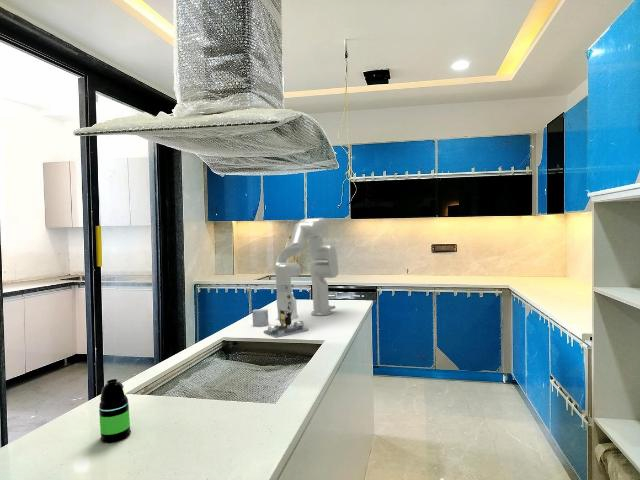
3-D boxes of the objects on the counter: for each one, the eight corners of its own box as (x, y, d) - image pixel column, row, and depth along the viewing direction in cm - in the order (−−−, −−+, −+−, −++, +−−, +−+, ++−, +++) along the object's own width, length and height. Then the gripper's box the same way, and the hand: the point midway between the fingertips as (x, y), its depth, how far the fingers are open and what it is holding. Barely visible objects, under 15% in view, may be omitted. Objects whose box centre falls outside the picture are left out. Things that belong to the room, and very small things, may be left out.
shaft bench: (295, 326, 225) (295, 318, 225) (308, 330, 214) (308, 322, 214) (263, 332, 214) (263, 324, 214) (275, 337, 204) (275, 328, 203)
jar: (289, 320, 240) (288, 294, 239) (275, 319, 244) (274, 294, 243) (299, 316, 250) (298, 291, 250) (285, 315, 254) (284, 291, 254)
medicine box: (268, 324, 233) (267, 309, 233) (266, 326, 229) (266, 310, 229) (254, 324, 234) (254, 309, 234) (252, 326, 230) (252, 311, 229)
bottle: (99, 446, 106) (95, 388, 105) (101, 434, 112) (98, 379, 112) (130, 439, 109) (127, 382, 108) (131, 427, 115) (127, 374, 115)
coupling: (287, 323, 217) (286, 312, 217) (292, 325, 213) (291, 313, 213) (279, 325, 215) (278, 313, 214) (283, 326, 211) (283, 314, 210)
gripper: (298, 289, 209) (300, 325, 209) (282, 286, 223) (283, 319, 223) (285, 290, 204) (287, 327, 205) (269, 287, 218) (271, 322, 219)
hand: (285, 323), depth 214 cm, fingers closed on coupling, 4 cm apart
